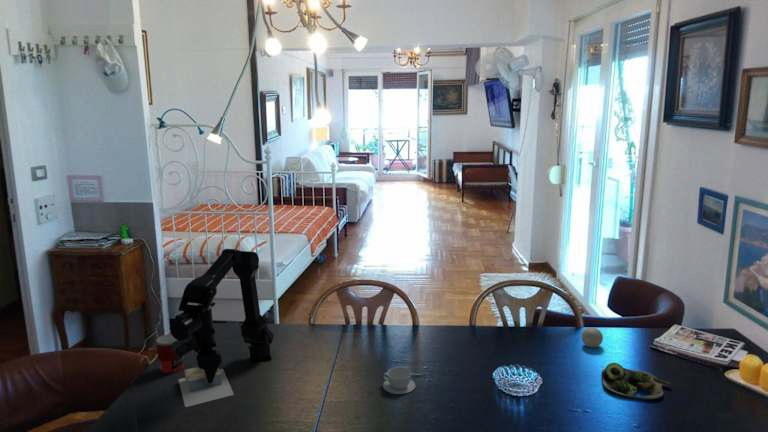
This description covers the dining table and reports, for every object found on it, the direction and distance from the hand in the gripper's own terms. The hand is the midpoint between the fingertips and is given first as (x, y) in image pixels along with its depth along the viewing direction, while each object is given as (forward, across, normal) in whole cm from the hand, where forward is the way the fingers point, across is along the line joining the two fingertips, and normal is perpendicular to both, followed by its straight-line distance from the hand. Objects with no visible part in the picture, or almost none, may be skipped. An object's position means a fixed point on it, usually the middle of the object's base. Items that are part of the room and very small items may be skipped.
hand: (207, 375), depth 159 cm
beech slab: (+8, -10, 0) cm, 13 cm away
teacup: (+10, +17, +54) cm, 57 cm away
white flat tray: (+10, -11, 0) cm, 15 cm away
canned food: (+10, -29, -8) cm, 32 cm away
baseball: (+10, +26, +125) cm, 128 cm away
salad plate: (+10, +50, +115) cm, 126 cm away
